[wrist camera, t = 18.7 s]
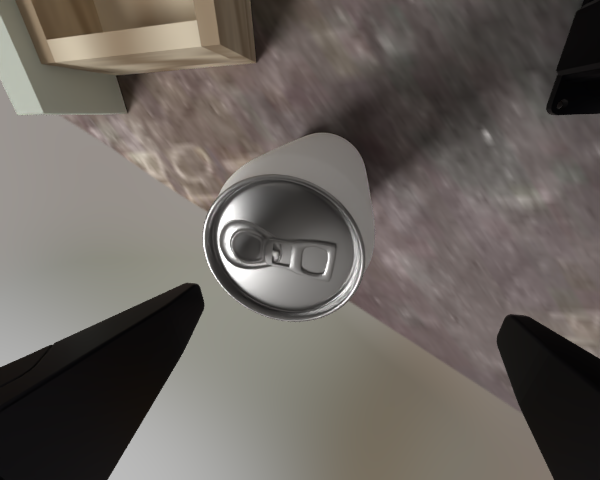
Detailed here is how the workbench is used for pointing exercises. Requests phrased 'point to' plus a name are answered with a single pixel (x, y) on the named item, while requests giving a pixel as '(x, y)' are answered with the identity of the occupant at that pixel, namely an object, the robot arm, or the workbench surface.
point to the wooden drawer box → (140, 34)
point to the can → (293, 229)
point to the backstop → (49, 77)
